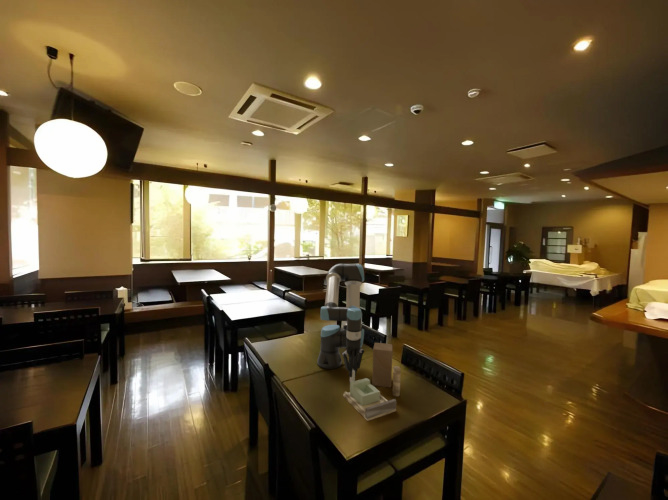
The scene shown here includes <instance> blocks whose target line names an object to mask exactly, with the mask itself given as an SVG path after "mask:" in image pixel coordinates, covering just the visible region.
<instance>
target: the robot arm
mask: <svg viewBox="0 0 668 500" xmlns="http://www.w3.org/2000/svg"><path fill="white" fill-rule="evenodd" d="M325 281H326V282H327V283H326V292H325V300H324V301H325V302H324V306H321V307H320V313H319V314H320V316H319V317H320V320H321V321H328V322H330V321H331V322H332V321H333V322H335V321H337V322H345V323H344V324H343V326H342V328H341V327H340V325H339V324H328V325H325V326H323V327H322V328H321V330H320V351H319V354H318V358H317V362H316V363H317V365H318V366H319V368H320V367H321V368H322V369H326V370H327V369H329V370H331V369H337V368H340V367H341V365H342V362H343V363H344V368H345V370H347V371H348V377H349V383H350V382H353V381H356V377H357V372H358V369H360V367H361V363H362V359H363V356H364V352H365V349H363V348H362V347H363V344H364V339H365V337H364V336H365V329H364V328H362V327H363V326H362V317H363V316H362V315H363V314H362V309H361V307H360V302H361V301H360V298H361V297H360V294H361V293H360V292H361V290H360V289H361V288H360V287H361V285H363V282H364V281H365V272H364V266H363V265H362V264H360V263H359V264H358V263H336V264H335V265H333V266H332V267H331V268H330V269H329V270H328V271H327V273H326V276H325ZM340 282H344V285H345V286H346V299H345V300H346V301H345V302H346V303H345V305H346V306H339V293H340V291H339V290H340ZM340 349H345V350H344V351H342V352H341V353H340ZM341 355H342V356H343V360H342V356H341Z"/></svg>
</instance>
